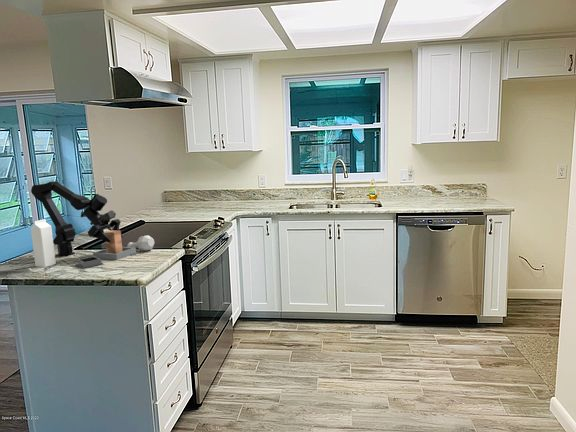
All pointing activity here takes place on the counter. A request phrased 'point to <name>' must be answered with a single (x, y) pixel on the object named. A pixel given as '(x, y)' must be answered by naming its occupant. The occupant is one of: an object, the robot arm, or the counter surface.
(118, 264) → the counter surface
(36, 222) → the milk
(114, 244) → the block
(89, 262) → the grey square base plate
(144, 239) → the chicken leg
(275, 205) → the counter surface
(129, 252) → the tray
